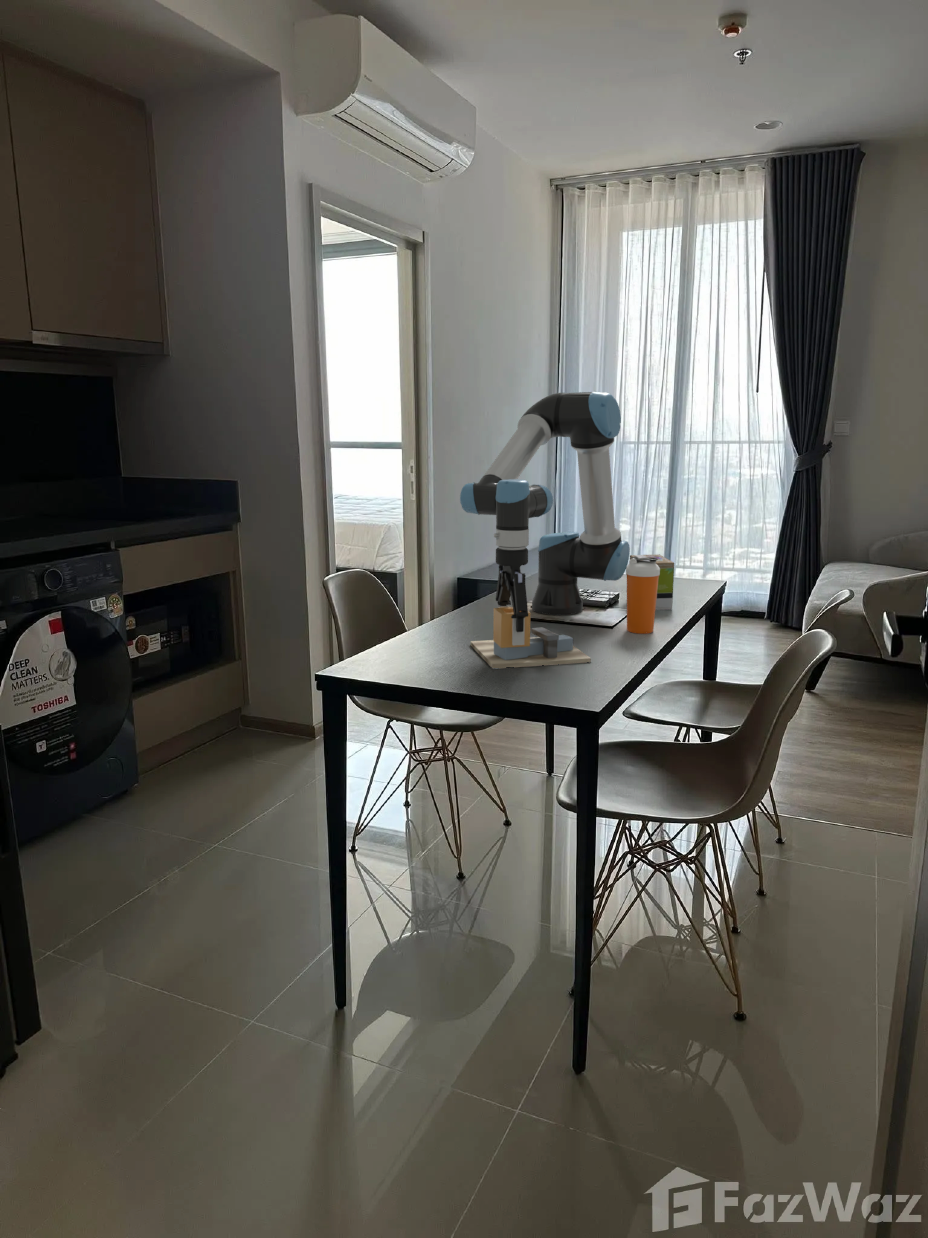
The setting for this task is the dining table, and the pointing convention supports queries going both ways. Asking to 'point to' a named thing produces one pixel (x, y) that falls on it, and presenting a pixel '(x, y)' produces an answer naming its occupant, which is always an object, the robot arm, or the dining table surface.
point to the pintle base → (547, 658)
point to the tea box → (663, 581)
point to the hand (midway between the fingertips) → (510, 638)
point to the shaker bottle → (641, 594)
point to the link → (532, 648)
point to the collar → (507, 628)
